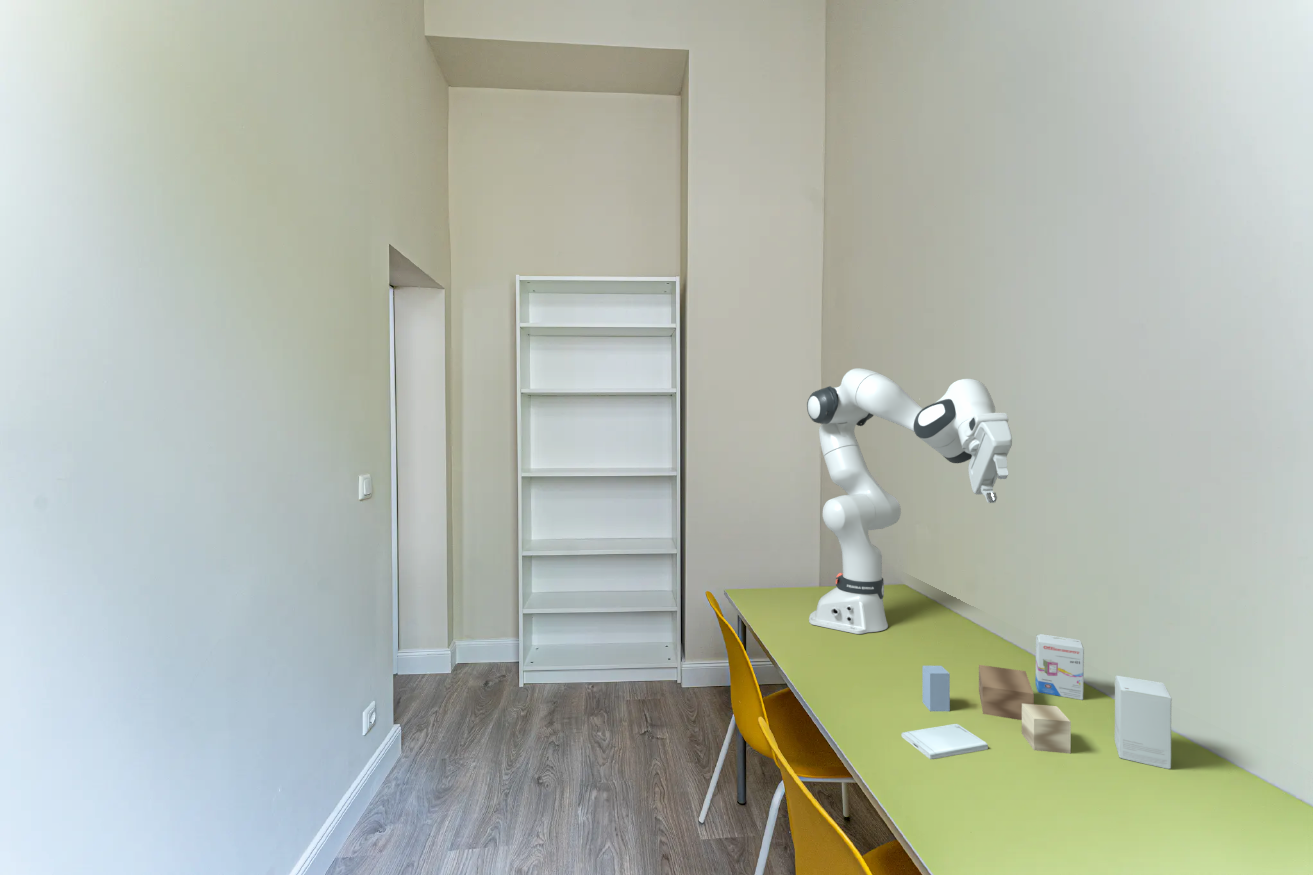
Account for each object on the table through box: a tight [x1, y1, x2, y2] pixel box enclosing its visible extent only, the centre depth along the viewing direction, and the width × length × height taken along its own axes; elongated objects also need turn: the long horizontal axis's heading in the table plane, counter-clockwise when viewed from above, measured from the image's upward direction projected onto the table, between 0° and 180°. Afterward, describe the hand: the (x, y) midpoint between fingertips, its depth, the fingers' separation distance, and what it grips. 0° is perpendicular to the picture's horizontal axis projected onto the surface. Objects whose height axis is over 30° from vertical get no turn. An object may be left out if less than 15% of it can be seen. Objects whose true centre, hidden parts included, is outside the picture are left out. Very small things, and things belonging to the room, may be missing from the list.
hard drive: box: [901, 723, 989, 760], centre depth 115 cm, size 2×8×12 cm
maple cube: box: [1021, 703, 1072, 754], centre depth 114 cm, size 6×6×6 cm
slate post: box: [922, 665, 951, 712], centre depth 129 cm, size 4×4×8 cm
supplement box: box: [1114, 675, 1173, 770], centre depth 109 cm, size 7×7×13 cm
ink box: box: [1035, 633, 1085, 701], centre depth 134 cm, size 9×5×12 cm, turn 62°
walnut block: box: [978, 664, 1035, 721], centre depth 129 cm, size 9×12×6 cm
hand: (997, 489), depth 128 cm, fingers open, 8 cm apart
